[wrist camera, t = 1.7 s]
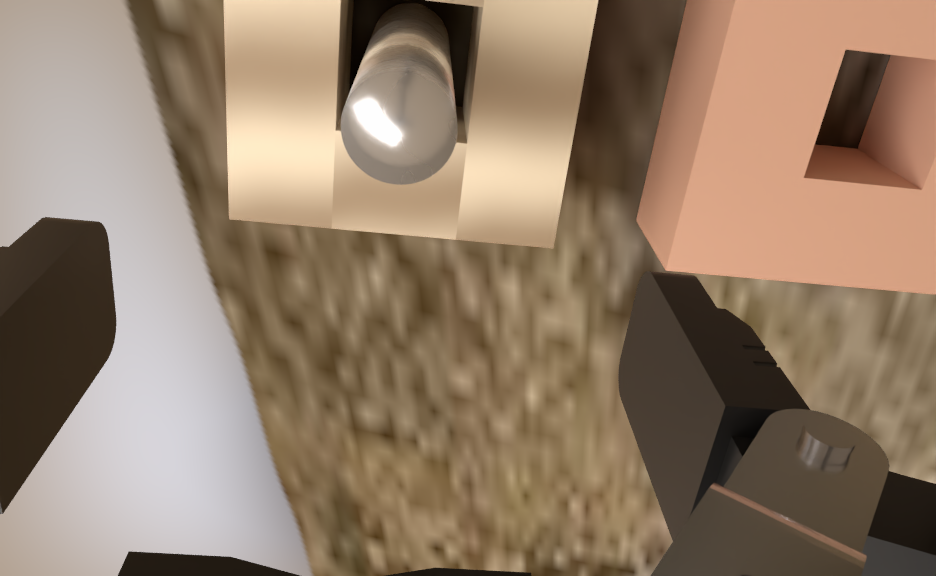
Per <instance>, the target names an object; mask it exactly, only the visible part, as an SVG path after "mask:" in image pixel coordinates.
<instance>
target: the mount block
mask: <svg viewBox="0 0 936 576" xmlns="http://www.w3.org/2000/svg"><path fill="white" fill-rule="evenodd" d="M427 1H436V2H444V3H453V4H461V5H470V6H474V10H473V19H472V28H471V36H470V45H469V54H468V63H467V72H466V80H465V89H464V98H463V107H457V106H456V115H457V126H458V132H457V140H456V144H455V147H454V150H453V152H452V154H451V156H450V158H449V159H448V161H447V162H446V164H445V165H444V166H443V167H442V168H441V169H440V170H439V171H438V172H437V173H435V174H434V175H432V176H431V177H429V178H427V179H425V180H423V181H420V182H417V183H412V184H405V185H396V184H389V183H385V182H381V181H379V180H377V179H374V178H372V177H371V176H369V175H367V174H366V173H365V172H363V171H362V170H361V169H360V168H359V167H358V166H357V165H356V164H355V163H354V162H353V161H352V159H351V158H350V156H349V155H348V153H347V151H346V149H345V146H344V143H343V140H342V135H341V116H342V112H343V108H344V106H345V103H346V101H347V98H348V96H349V87H350V66H351V44H352V23H353V2H354V0H224V30H225V71H226V112H227V152H228V193H229V219H234V220H245V221H256V222H267V223H278V224H289V225H300V226H311V227H322V228H333V229H344V230H355V231H366V232H377V233H389V234H400V235H411V236H422V237H433V238H444V239H455V240H466V241H477V242H488V243H499V244H510V245H521V246H532V247H544V248H553V247H554V241H555V236H556V230H557V225H558V219H559V214H560V208H561V203H562V197H563V192H564V186H565V181H566V175H567V170H568V164H569V159H570V153H571V148H572V142H573V137H574V131H575V126H576V120H577V115H578V109H579V104H580V98H581V93H582V87H583V82H584V76H585V71H586V65H587V60H588V54H589V49H590V43H591V38H592V32H593V27H594V21H595V16H596V10H597V5H598V0H427Z"/></svg>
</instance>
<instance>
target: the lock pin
mask: <svg viewBox="0 0 936 576" xmlns="http://www.w3.org/2000/svg"><path fill="white" fill-rule="evenodd" d="M457 132H458V126H457V115H456V105H455V96H454V86H453V76H452V66H451V56H450V46H449V37H448V32H447V29H446V27H445V25H444V23H443V21H442V20H441V18H440V17H439V16H438V15H437V14H436V13H435V12H434V11H433V10H431V9H430V8H428V7H426V6H424V5H421V4H417V3H403V4H398V5H396V6H394V7H392V8H390V9H389V10H387V11H386V12H385V13H384V14H383V15H382V16H381V17H380V19H379V20H378V22H377V24H376V26H375V28H374V31H373V34H372V36H371V39H370V41H369V44H368V46H367V49H366V52H365V54H364V57H363V59H362V62H361V65H360V67H359V70H358V72H357V75H356V77H355V80H354V83H353V85H352V88H351V90H350V93H349V96H348V98H347V101H346V103H345V106H344V108H343V112H342V116H341V135H342V140H343V143H344V146H345V149H346V151H347V153H348V155H349V156H350V158H351V159H352V161H353V162H354V163H355V164H356V165H357V166H358V167H359V168H360V169H361V170H362V171H363V172H365V173H366V174H367V175H369V176H371V177H372V178H374V179H377V180H379V181H381V182H385V183H389V184H396V185H405V184H412V183H417V182H420V181H423V180H425V179H427V178H429V177H431V176H432V175H434V174H435V173H437V172H438V171H439V170H440V169H441V168H442V167H443V166H444V165H445V164H446V162H447V161H448V159H449V158H450V156H451V154H452V152H453V150H454V147H455V144H456V140H457Z"/></svg>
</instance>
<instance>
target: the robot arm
mask: <svg viewBox="0 0 936 576" xmlns="http://www.w3.org/2000/svg"><path fill="white" fill-rule="evenodd" d="M115 333H116V312H115V301H114V291H113V283H112V271H111V261H110V251H109V242H108V236H107V232H106V229H105V228H104V226H103V225H102V223H100V222H94V221H83V220H72V219H60V218H50V217H45V218H42V219H41V220H39V221H38V222H37V223H36V224H35V225H33V226H32V227H31V228H30V229H29V230H28V231H27V232H25V233H24V234H23V235H22V236H21V237H20V238H18V239H17V240H16V241H15V242H14V243H13V244H12V245H10V246H9V247H3V246H2V247H0V514H3V513H4V511H5V509H6V508H7V507H8V505H9V504H10V502H11V501H12V499H13V498H14V496H15V495H16V493H17V492H18V490H19V489H20V488H21V486H22V484H23V483H24V482H25V480H26V479H27V477H28V476H29V474H30V473H31V471H32V470H33V468H34V467H35V465H36V464H37V463H38V461H39V460H40V458H41V457H42V455H43V454H44V452H45V451H46V449H47V448H48V446H49V445H50V443H51V442H52V440H53V439H54V437H55V436H56V435H57V433H58V432H59V430H60V429H61V427H62V426H63V424H64V423H65V421H66V420H67V418H68V417H69V415H70V414H71V413H72V411H73V410H74V408H75V406H76V405H77V404H78V402H79V401H80V399H81V398H82V396H83V395H84V393H85V392H86V390H87V389H88V388H89V386H90V385H91V383H92V382H93V380H94V379H95V377H96V376H97V374H98V373H99V371H100V370H101V368H102V367H103V365H104V364H105V362H106V361H107V359H108V358H109V356H110V353H111V351H112V348H113V344H114V339H115ZM619 392H620V397H621V400H622V403H623V406H624V408H625V411H626V414H627V417H628V419H629V422H630V425H631V428H632V430H633V433H634V436H635V438H636V441H637V444H638V447H639V449H640V452H641V455H642V458H643V460H644V463H645V466H646V469H647V471H648V474H649V477H650V480H651V482H652V485H653V488H654V491H655V493H656V496H657V499H658V502H659V504H660V507H661V510H662V512H663V515H664V518H665V521H666V523H667V526H668V529H669V532H670V534H671V537H672V540H673V543H672V544H671V546H670V547H669V549H668V550H667V552H666V553H665V555H664V556H663V558H662V559H661V561H660V562H659V564H658V565H657V567H656V568H655V570H654V572H653V573H652V575H651V576H936V484H933V483H930V482H926V481H922V480H919V479H915V478H911V477H908V476H904V475H900V474H897V473H894V472H890V471H889V461H888V458H887V456H886V454H885V452H884V451H883V450H882V448H881V447H880V446H879V445H878V444H877V443H876V442H875V441H874V440H873V439H872V438H871V437H870V436H868V435H867V434H866V433H864V432H863V431H861V430H860V429H858V428H857V427H855V426H853V425H851V424H849V423H848V422H845V421H843V420H841V419H839V418H836V417H833V416H831V415H828V414H824V413H821V412H817V411H812V410H810V409H809V407H808V406H807V405H806V403H805V402H804V400H803V399H802V398H801V396H800V395H799V394H798V392H797V391H796V389H795V388H794V387H793V385H792V384H791V382H790V381H789V380H788V378H787V377H786V375H785V374H784V373H783V371H782V370H781V368H780V367H777V363H776V361H775V360H774V359H773V357H772V356H771V354H770V353H769V352H768V351H765V346H764V345H763V343H762V342H761V340H760V339H759V338H758V336H757V335H756V333H755V332H754V331H753V329H752V328H751V327H750V326H749V325H747V324H746V323H744V322H743V321H742V320H740V319H739V318H738V317H736V316H735V315H733V314H732V313H731V312H729V311H728V310H726V309H719V308H717V307H716V306H715V304H714V303H713V301H712V300H711V298H710V297H709V295H708V294H707V292H706V291H705V289H704V288H703V286H702V285H701V283H700V282H699V280H698V279H697V278H696V277H695V276H693V275H681V274H670V273H659V272H645V273H644V274H643V276H642V277H641V279H640V281H639V284H638V288H637V292H636V296H635V300H634V304H633V308H632V312H631V317H630V321H629V325H628V329H627V333H626V337H625V341H624V346H623V350H622V354H621V358H620V364H619ZM118 576H299V575H296V574H292V573H288V572H285V571H281V570H277V569H273V568H270V567H266V566H263V565H259V564H255V563H251V562H248V561H244V560H240V559H237V558H233V557H221V556H202V555H183V554H165V553H164V554H163V553H145V552H128V555H127V557H126V559H125V561H124V564H123V566H122V568H121V570H120V572H119V575H118ZM386 576H531V573H524V572H505V571H486V570H467V569H448V568H431V569H425V570H418V571H412V572H405V573H399V574H393V575H386Z"/></svg>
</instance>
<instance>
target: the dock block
mask: <svg viewBox="0 0 936 576" xmlns="http://www.w3.org/2000/svg"><path fill="white" fill-rule="evenodd" d="M845 50H855V51H863V52H872V53H880V54H889V55H891V56H890V59H889V61H888V64H887V67H886V70H885V73H884V76H883V78H882V81H881V84H880V87H879V90H878V92H877V95H876V98H875V101H874V104H873V107H872V109H871V112H870V115H869V118H868V121H867V124H866V126H865V129H864V132H863V135H862V138H861V141H860V143H859V146H858V149H855V148H846V147H836V146H827V145H817V144H815V142H816V139H817V136H818V133H819V130H820V126H821V123H822V120H823V117H824V114H825V111H826V108H827V105H828V102H829V99H830V96H831V93H832V90H833V87H834V84H835V81H836V78H837V74H838V71H839V68H840V65H841V62H842V59H843V56H844V53H845ZM636 221H637V223H638V224H639V226H640V228H641V229H642V231H643V233H644V235H645V236H646V238H647V240H648V241H649V243H650V245H651V246H652V248H653V250H654V251H655V253H656V255H657V256H658V258H659V260H660V261H661V263H662V265H663V267H664V268H665V270H666V271H677V272H688V273H700V274H711V275H722V276H733V277H745V278H756V279H767V280H778V281H790V282H801V283H812V284H823V285H835V286H846V287H857V288H868V289H880V290H891V291H902V292H913V293H925V294H936V0H687V2H686V7H685V11H684V15H683V20H682V24H681V28H680V33H679V37H678V41H677V46H676V50H675V54H674V59H673V63H672V67H671V72H670V76H669V80H668V85H667V89H666V93H665V98H664V102H663V106H662V111H661V115H660V119H659V124H658V128H657V132H656V137H655V141H654V145H653V150H652V154H651V158H650V163H649V167H648V171H647V176H646V180H645V184H644V189H643V193H642V197H641V202H640V206H639V210H638V215H637V219H636Z"/></svg>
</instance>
